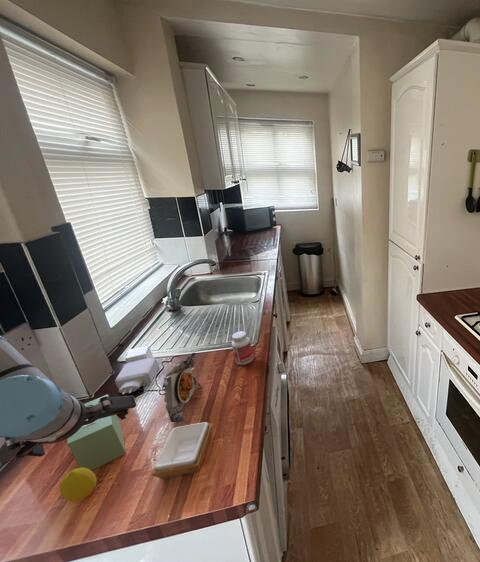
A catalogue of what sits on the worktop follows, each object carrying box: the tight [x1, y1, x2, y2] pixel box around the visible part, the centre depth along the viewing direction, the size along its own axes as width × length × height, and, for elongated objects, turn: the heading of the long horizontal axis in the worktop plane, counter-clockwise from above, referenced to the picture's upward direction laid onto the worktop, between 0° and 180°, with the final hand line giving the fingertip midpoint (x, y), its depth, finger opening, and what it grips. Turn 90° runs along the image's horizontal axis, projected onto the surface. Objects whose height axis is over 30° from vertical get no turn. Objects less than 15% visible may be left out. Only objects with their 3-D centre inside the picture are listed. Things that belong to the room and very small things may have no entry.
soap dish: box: [150, 421, 213, 479], centre depth 75 cm, size 12×10×5 cm
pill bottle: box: [231, 330, 254, 366], centre depth 110 cm, size 6×6×11 cm
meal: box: [161, 352, 202, 424], centre depth 91 cm, size 15×4×13 cm, turn 9°
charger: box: [114, 357, 160, 396], centre depth 101 cm, size 5×9×15 cm
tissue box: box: [66, 394, 127, 472], centre depth 78 cm, size 8×14×10 cm, turn 42°
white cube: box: [124, 345, 154, 364], centre depth 110 cm, size 6×6×6 cm
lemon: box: [59, 467, 98, 503], centre depth 66 cm, size 6×6×8 cm
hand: (84, 430), depth 68 cm, fingers open, 13 cm apart
